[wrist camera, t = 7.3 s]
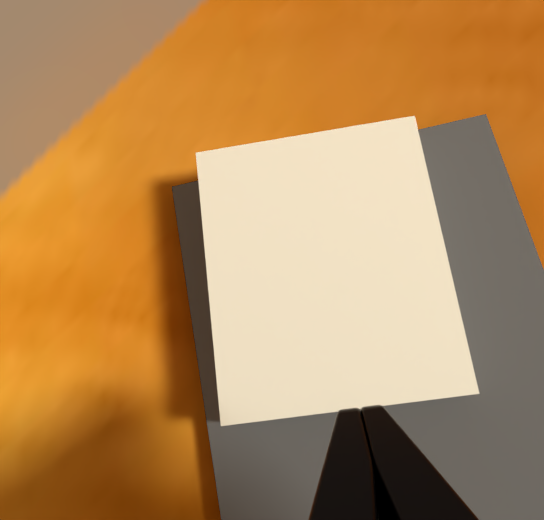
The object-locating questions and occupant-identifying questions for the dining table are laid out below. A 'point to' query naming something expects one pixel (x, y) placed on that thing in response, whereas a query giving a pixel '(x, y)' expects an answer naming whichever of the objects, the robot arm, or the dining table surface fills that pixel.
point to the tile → (328, 275)
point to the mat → (423, 414)
